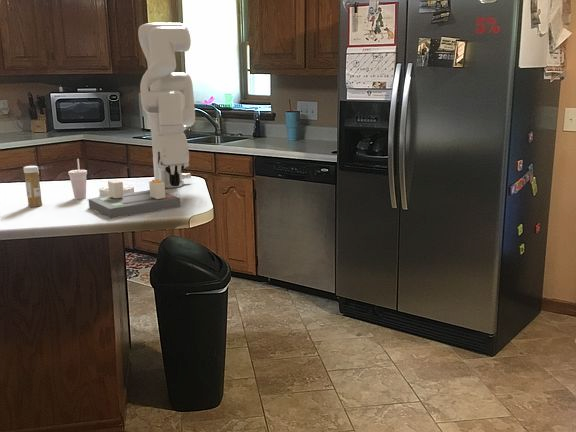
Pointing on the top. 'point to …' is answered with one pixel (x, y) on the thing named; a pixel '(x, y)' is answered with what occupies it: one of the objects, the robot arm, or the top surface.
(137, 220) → the top surface
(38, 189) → the sprinkles bottle
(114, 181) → the block
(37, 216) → the top surface
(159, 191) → the breaker
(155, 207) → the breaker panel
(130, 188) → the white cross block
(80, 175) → the smoothie
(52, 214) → the top surface
